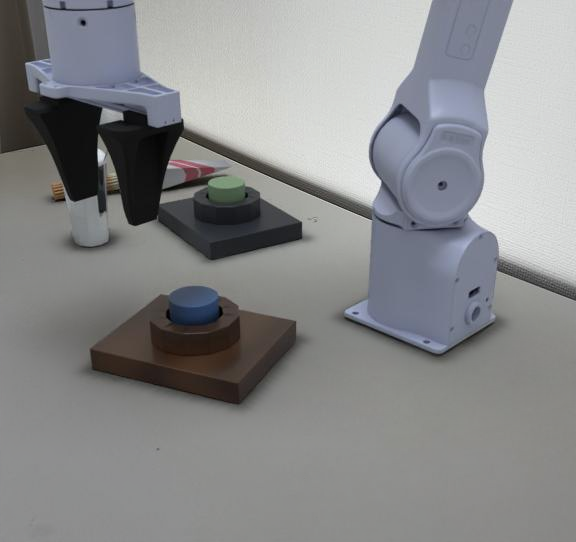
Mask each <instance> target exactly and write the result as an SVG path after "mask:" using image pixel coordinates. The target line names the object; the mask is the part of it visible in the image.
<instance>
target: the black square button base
mask: <svg viewBox="0 0 576 542" xmlns="http://www.w3.org/2000/svg"><path fill="white" fill-rule="evenodd" d="M157 220H158V221H159V222H160V223H161V224H163V225H164V226H166V227H167V228H168V229H170V230H171V231H172V232H174V233H175V234H176V235H178V236H179V237H180V238H181V239H184V241H186V242H187V244H190V245H191V246H192V247H194V248H195V249H196V250H198V251H199V252H200V253H201V254H203V255H204V256H205V257H207V258H208V259H210V260H216V259H219V258H224V257H227V256H232V255H235V254H240V253H244V252H249V251H253V250H257V249H261V248H266V247H271V246H275V245H278V244H283V243H287V242H291V241H296V240H300V239H303V222H302V220H299V219H298V218H296V217H295V216H292V215H291V214H289V213H288V212H286V211H284V210H283V209H281V208H279V207H277V206H276V205H273V204H272V203H270V202H269V201H267V200H265V199H263V198H262V197H261V192H260V191H258V190H257V189H255V188H253V187H251V186H246V185H245V199H244V200H242V201H237V202H232V203H219V202H214V201H210V200H209V194H208V186H205V187H203V188H201V189H199V190H198V191H195V192H194V193H193V197H187V198H182V199H177V200H172V201H167V202H162V203H161V202H160V204H159V210H158V216H157Z"/></svg>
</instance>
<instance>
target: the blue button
mask: <svg viewBox="0 0 576 542" xmlns="http://www.w3.org/2000/svg"><path fill="white" fill-rule="evenodd" d="M168 296H169V298H168V299H169V311H170V320H171V322H173V323H174V324H179V325H184V326H203V325H206V324H209V323H212V322H215V321H217V320H218V319H219V298H218V296H219V293H218V292H217V290H215V289H213V288H211V287H208V286H203V285H188V286H187V285H186V286H182V287H179V288H177V289H174V290H172V291H171V293H169V295H168Z"/></svg>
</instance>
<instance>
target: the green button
mask: <svg viewBox="0 0 576 542" xmlns="http://www.w3.org/2000/svg"><path fill="white" fill-rule="evenodd" d="M245 186H246V181H245V179H243V178H241V177H238V176H229V175H228V176H218V177H213V178H211V179H210V180H208V181H207V187H208V194H209V200H210V201H214V202H219V203H232V202H237V201H242V200H244V199H245Z"/></svg>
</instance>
